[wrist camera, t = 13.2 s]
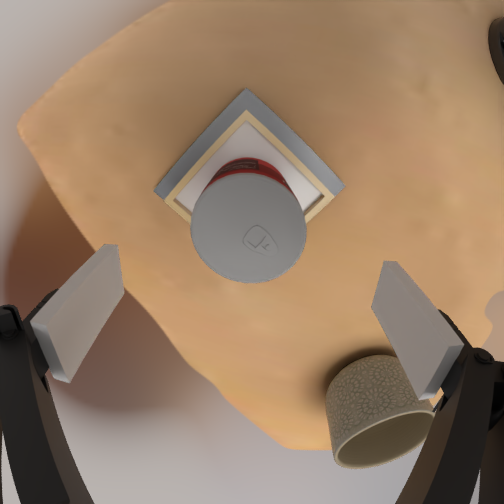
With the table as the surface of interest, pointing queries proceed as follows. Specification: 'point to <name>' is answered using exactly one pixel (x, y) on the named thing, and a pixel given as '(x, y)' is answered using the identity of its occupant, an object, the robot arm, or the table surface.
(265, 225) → the canned food
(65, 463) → the robot arm
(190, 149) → the base
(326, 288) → the table surface
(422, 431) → the planter
